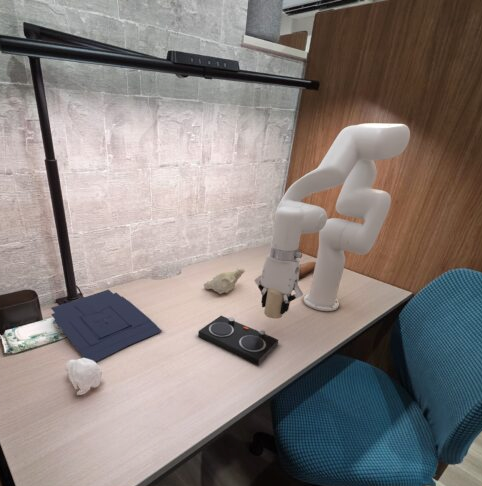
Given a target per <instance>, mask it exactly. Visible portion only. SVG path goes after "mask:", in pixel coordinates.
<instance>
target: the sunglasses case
mask: <svg viewBox="0 0 482 486" xmlns="http://www.w3.org/2000/svg"><path fill="white" fill-rule="evenodd" d="M315 264H316V261H310V262H309V261H308V262H303V263H299V280H301V279H303V278H304V277H305V276H307V275H309V274H311V273H314V269H315Z"/></svg>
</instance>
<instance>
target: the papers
mask: <svg viewBox="0 0 482 486" xmlns="http://www.w3.org/2000/svg"><path fill="white" fill-rule="evenodd" d="M50 309H51V310H52V311H53V313H51V314H50V315H51V316H52V317H53V320H54V322H55V323H56V325H57V326H58V328H59V329H60V330H61V332H63V334H64V335H65V336H66V337H67V338H68V340H69V341H70V343H72V345H73V346H74V348H76V350H77V351H78V352H79V353H80V355H81V356H82V358H87V359H90V360H93V361H94V362H96V363H97V362H98V361H100V360H102V359H105V358H106V357H108V356H110V355H112V354H114V353H116V352H119V351H120V350H122V349H124V348H126V347H128V346H130V345H133V344H136V343H138V342H140V341H143V340H144V339H147V338H149V337H152V336H154V335H156V334H159V333H161V332H163V330H162V329H161V328H160V327H159V326H158V325H157V324H156V323H155V322H153V320H152V319H151V318H150V317H149V316H147V314H145V313H144V312H143V311H142V310H141V309H139V308H138V307H137V306H135V305H134V304H133V303H132V302H131V301H130V300H128V299H127V298H125V297H124V296H121V295H120V293H117V292H112V291H111V290H110V289H109V288H108V289H106V290H102V291H99V292H96V293H94V294H91V295H87V296H84V297H81V298H78V299H75V300H72V301H69V302H65V303H62V304H59V305H56V306H52V307H50Z"/></svg>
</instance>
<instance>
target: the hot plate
mask: <svg viewBox="0 0 482 486" xmlns="http://www.w3.org/2000/svg"><path fill="white" fill-rule="evenodd" d="M197 336H198V337H199V338H200V339H202V340H204V341H206V342H208V343H210V344H212V345H214V346H216V347H218V348H221V349H223V350H225V351H227V352H228V353H231V354H233V355H234V356H238V357H239V358H241V359H243V360H246V361H247V362H249V363H251V364H253V365H255V366H260V364H262V362H264V360H266V358H267V357H268V356H269V355H270V354H271V353H272V352H273V351H274V350H275V349H276V348H277V347H278V346H279V338H276V337H274V336H271V335H269V334H267V333H266V331H265V330H263V329H260V330H257V329H255V328H252V327H249V326H247V325H245V324H243V323H240V322H238V321H235V318H234V317H225V316H223V315H220V316H218V317H217V318H215V319H214V320H212V321H211V322H209V323H208V324H206V325H204V327H202V328H200V329H199V330H198V335H197Z"/></svg>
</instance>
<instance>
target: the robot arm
mask: <svg viewBox="0 0 482 486" xmlns="http://www.w3.org/2000/svg"><path fill="white" fill-rule="evenodd" d="M410 138H411V130H410V128H409V126H408V125H406V124H404V123H379V122H378V123H375V122H374V123H373V122H372V123H368V122H367V123H359V124H353V125H349V126H346V127H344V128H343V129H342V130H340V132H339V133H338V135H337V136H336V138H335V139H334V141H333V143H332V144H331V145H330V147H329V149H328V151H327V152H326V154H325V156H324V157H323V159H322V160H321V162H320V164H319V165H318V167H317V168H315V169H313V170H311V171H309V172H308V173H306V174H305V175H303V176H302V177H300V178H299V179H297V180H296V181H295V182H293V183H292V184H291V185H290V186H289V187H288V189H287V190H286V191H285V193H284V195H283V196H282V198H281V200H280V201H279V203H278V205H277V208H276V210H275V212H274V220H273V225H272V234H271V239H270V240H271V241H270V247H269V253H268V254H267V255H266V258H265V261H264V263H263V265H262V270H261V274H260V275H259V276H258V277H256V278H255V279H254V283H255V285H256V286H257V287H258V289H259V291H260V294H261V295H262V296H261V301H260V302H261V308H264V309H265V305H266V298H267V291H268V289H275V290H277V291H278V292H281V293H283V297H284V302H282V307H281V312H280V313H281V314H282V316H283V315H284V314H285V313H286V312H288V311H289V308H290V303H291V302H292V301H294V300H297V299H299V298H301V297H303V302H304V304H305V305H306V306H307V307H309V308H311V309H314V310H317V311H320V312H321V311H322V312H333V311H335V310H337V309H338V308H339V306H340V303H339V301H338V299H337V297H338V292H339V288H340V284H341V281H342V277H343V273H344V269H345V266H346V255H345V252H347V253H350V254H355V255H359V256H364V255H367V254H369V253H370V252H371V250H372V249H373V248H374V245H375V243H376V242H377V240H378V236H379V234H380V232H381V230H382V228H383V225H384V223H385V222H386V219H387V216H388V215H389V212H390V209H391V204H392V197H391V195H390V193H389V192H388V191H385V190H382V189H376V188H373V186H374V183H375V181H376V178H377V176H378V169H377V166H376V163H375V161H376V162H377V161H378V162H381V161H387V160H390V159H394V158H396V157H398V156H400V155H401V154H403V152H404V151H405V150H406V148H407V146H408V145H409V142H410V140H411V139H410ZM340 186H342V187H341V189H340V192H339V193H338V194H339V195H338V197H337V200H336V202H335V211H336V212H337V213H338V214H340V215H342V216H345V217H349V218H354V219H359V220H362V221H364V222H363V223H361V222H356V221H351V220H348V219H343V218H339V217H332V218H331V217H330V218H328V213H327V210H325V209H324V208H323V207H321V206H319V205H314V204H310V203H306V202H303V200H304V199H305V198H307V197H308V196H310V195H313V194H315V193H319V192H323V191H328V190H331V189H335V188H338V187H340ZM301 201H302V202H301ZM316 233H318V250H317V255H316V259H315V260H316V261H315V262H316V264H315V269H314V271H313V275H312V278H311V284H310V288H309V293H307V294H305V295H304V293H303V291H302V290H301V288H300V286H299V280H300V279H299V265H300V259H302V257H303V253H302V252H300V248H299V246H300V242H301V236H302V235H312V234H316ZM293 291H294V294H292V293H293ZM303 295H304V296H303Z"/></svg>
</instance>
